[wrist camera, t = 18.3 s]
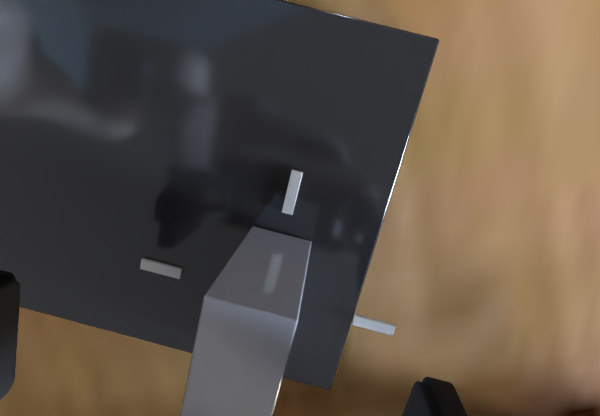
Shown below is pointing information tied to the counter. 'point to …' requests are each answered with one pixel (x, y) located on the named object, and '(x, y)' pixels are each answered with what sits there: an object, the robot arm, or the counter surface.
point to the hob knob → (247, 328)
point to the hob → (198, 157)
